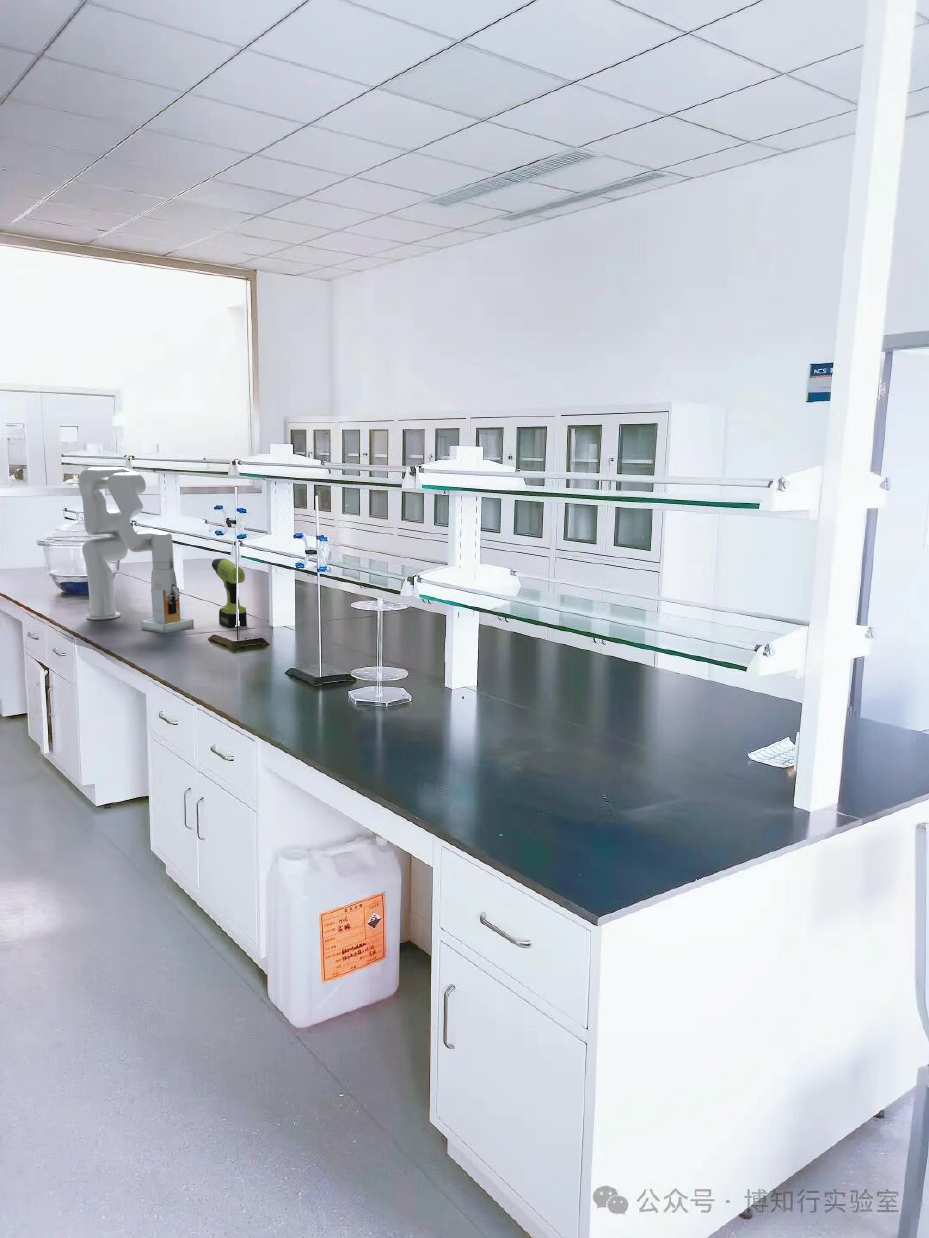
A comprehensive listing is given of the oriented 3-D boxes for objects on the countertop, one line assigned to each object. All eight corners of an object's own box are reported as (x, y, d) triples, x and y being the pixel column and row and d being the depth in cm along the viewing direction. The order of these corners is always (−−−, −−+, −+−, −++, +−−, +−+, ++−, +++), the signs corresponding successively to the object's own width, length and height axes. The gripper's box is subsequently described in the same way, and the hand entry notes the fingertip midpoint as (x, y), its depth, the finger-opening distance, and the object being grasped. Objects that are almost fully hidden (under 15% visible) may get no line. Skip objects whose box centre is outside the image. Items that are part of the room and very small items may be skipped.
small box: (165, 624, 340) (162, 590, 337) (152, 623, 343) (150, 589, 340) (181, 621, 347) (179, 587, 344) (169, 619, 350) (166, 586, 347)
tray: (141, 628, 344) (141, 621, 343) (170, 623, 354) (170, 615, 354) (164, 633, 336) (164, 625, 335) (193, 627, 346) (193, 619, 345)
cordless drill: (208, 620, 360) (204, 557, 355) (225, 617, 364) (221, 555, 359) (232, 629, 342) (228, 563, 337) (249, 626, 346) (246, 561, 341)
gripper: (140, 565, 342) (143, 611, 346) (169, 568, 332) (172, 616, 336) (157, 562, 348) (160, 608, 352) (186, 566, 338) (189, 613, 342)
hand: (166, 612), depth 344 cm, fingers closed on small box, 6 cm apart
